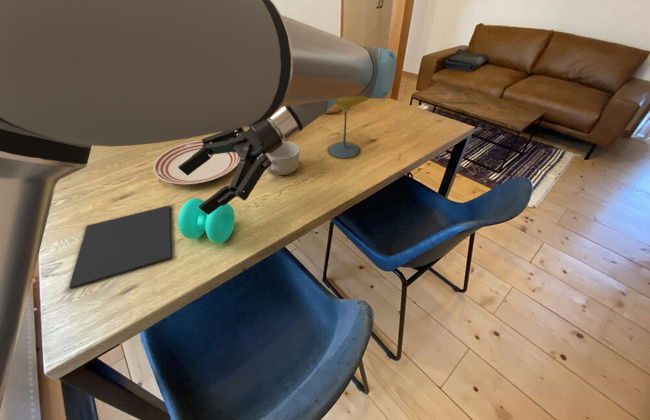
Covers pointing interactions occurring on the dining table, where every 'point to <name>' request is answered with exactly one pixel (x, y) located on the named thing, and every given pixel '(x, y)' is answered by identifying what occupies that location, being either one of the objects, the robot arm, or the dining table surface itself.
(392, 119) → the dining table surface
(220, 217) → the donuts
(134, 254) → the placemat
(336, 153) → the cocktail glass
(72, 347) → the dining table surface
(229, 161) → the dinner plate
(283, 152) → the teacup
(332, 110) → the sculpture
